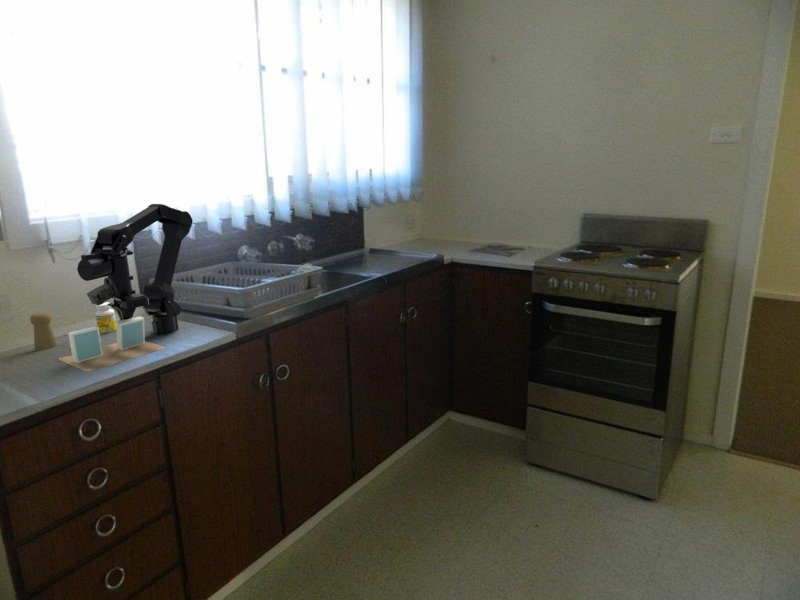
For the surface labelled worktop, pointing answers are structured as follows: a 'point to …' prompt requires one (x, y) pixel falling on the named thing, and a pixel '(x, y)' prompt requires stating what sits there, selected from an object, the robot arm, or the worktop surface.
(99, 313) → the supplement bottle
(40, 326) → the cork
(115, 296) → the robot arm
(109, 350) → the board
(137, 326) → the tile
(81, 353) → the tile
